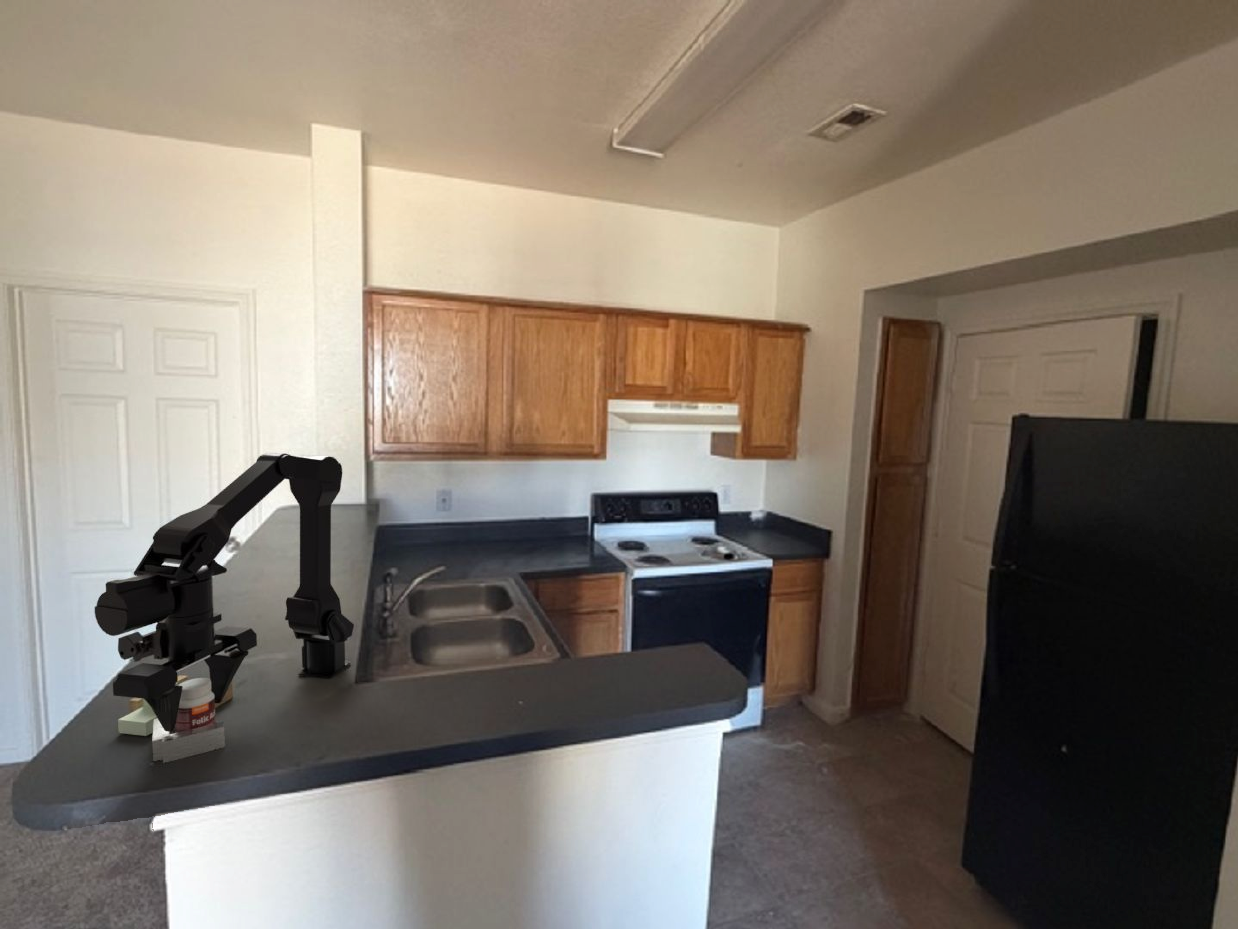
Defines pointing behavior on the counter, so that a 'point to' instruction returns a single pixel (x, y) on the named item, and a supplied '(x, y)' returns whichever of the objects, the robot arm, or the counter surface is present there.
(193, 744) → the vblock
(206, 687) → the pill bottle
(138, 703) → the channel
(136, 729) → the block
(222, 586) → the counter surface
